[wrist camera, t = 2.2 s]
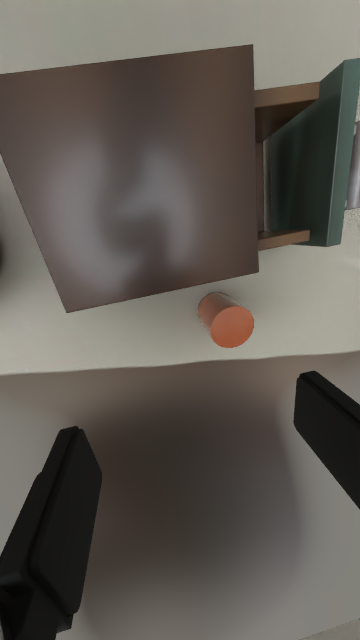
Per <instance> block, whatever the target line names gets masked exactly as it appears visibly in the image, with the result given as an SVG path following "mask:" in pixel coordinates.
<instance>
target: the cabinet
mask: <svg viewBox="0 0 360 640" xmlns="http://www.w3.org/2000/svg"><path fill="white" fill-rule="evenodd" d="M0 154H1V156H2V158H3V161H4V163H5V166H6V168H7V171H8V173H9V175H10V178H11V180H12V183H13V185H14V187H15V190H16V192H17V195H18V197H19V199H20V202H21V204H22V207H23V209H24V212H25V214H26V216H27V219H28V221H29V224H30V226H31V228H32V231H33V233H34V236H35V238H36V240H37V243H38V245H39V248H40V250H41V253H42V255H43V257H44V260H45V262H46V265H47V267H48V269H49V272H50V274H51V277H52V279H53V281H54V284H55V286H56V289H57V291H58V294H59V296H60V298H61V301H62V303H63V306H64V308H65V310H66V313H70V312H74V311H79V310H84V309H88V308H93V307H98V306H103V305H107V304H112V303H117V302H121V301H126V300H131V299H135V298H140V297H145V296H150V295H154V294H159V293H164V292H168V291H173V290H178V289H182V288H187V287H192V286H197V285H201V284H206V283H211V282H215V281H220V280H225V279H229V278H234V277H239V276H244V275H248V274H253V273H258V272H259V263H258V222H257V182H256V142H255V101H254V61H253V44H251V45H243V46H234V47H226V48H217V49H209V50H201V51H192V52H184V53H175V54H167V55H159V56H150V57H142V58H133V59H125V60H117V61H108V62H100V63H91V64H83V65H74V66H66V67H58V68H49V69H41V70H32V71H24V72H16V73H7V74H0Z"/></svg>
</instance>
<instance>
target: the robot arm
mask: <svg viewBox="0 0 360 640" xmlns="http://www.w3.org/2000/svg"><path fill="white" fill-rule="evenodd" d="M294 426H295V428H296V430H297V431H298V432H299V434H300V435H301V436H302V437H303V439H304V440H305V441H306V442H307V444H308V445H309V446H310V447H311V449H312V450H313V451H314V452H315V454H316V455H317V456H318V458H319V459H320V460H321V461H322V463H323V464H324V465H325V466H326V468H327V469H328V470H329V471H330V473H331V474H332V475H333V476H334V478H335V479H336V480H337V481H338V483H339V484H340V485H341V486H342V488H343V489H344V490H345V491H346V493H347V494H348V495H349V496H350V498H351V499H352V500H353V501H354V503H355V504H356V505H357V506H358V508H359V509H360V405H359V404H358V403H357V402H355V401H354V400H353V399H351V398H350V397H349V396H347V395H346V394H345V393H344V392H342V391H341V390H340V389H338V388H337V387H336V386H335V385H333V384H332V383H331V382H329V381H328V380H327V379H326V378H324V377H323V376H322V375H320V374H319V373H318V372H316V371H310V372H305V373H302V374H300V376H299V378H297V384H296V396H295V409H294ZM101 483H102V472H101V470H100V467H99V465H98V462H97V460H96V458H95V455H94V453H93V451H92V449H91V447H90V444H89V442H88V440H87V437H86V435H85V433H84V431H83V429H79V428H78V427H77V426H74V427H69V428H66V429H62V430H60V431H59V433H58V435H57V437H56V440H55V442H54V444H53V447H52V449H51V451H50V454H49V456H48V458H47V460H46V463H45V465H44V467H43V470H42V472H40V473H39V474H38V475H37V477H36V479H35V480H34V482H33V485H32V487H31V489H30V491H29V494H28V496H27V498H26V500H25V503H24V505H23V507H22V509H21V511H20V514H19V516H18V518H17V520H16V523H15V525H14V527H13V529H12V532H11V533H10V536H9V538H8V541H7V542H6V545H5V547H4V549H3V551H2V554H1V556H0V640H55V638H56V634H57V633H59V632H62V631H65V630H68V629H71V625H72V620H73V614H74V613H76V612H77V611H78V609H79V607H80V603H81V598H82V593H83V587H84V581H85V575H86V570H87V563H88V558H89V552H90V546H91V540H92V534H93V528H94V523H95V517H96V511H97V506H98V500H99V494H100V488H101ZM301 640H360V618H359V619H357V620H354V621H351V622H348V623H345V624H342V625H340V626H337V627H334V628H331V629H328V630H326V631H323V632H320V633H317V634H314V635H312V636H309V637H306V638H304V639H301Z"/></svg>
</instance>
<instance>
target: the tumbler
mask: <svg viewBox="0 0 360 640" xmlns="http://www.w3.org/2000/svg"><path fill="white" fill-rule="evenodd" d="M198 317H199V319H200V321H201V323H202V324H203V326H204V327H205V329H206V330H207V332H208V333H209V335H210V336H211V338H212V339H213V341H214V342H215V343H216V344H217V345H219V346H221V347H225V348H233V347H237V346H239V345H241V344H243V343H244V342H245V341H246V340H247V339H248V338H249V337H250V335H251V334H252V331H253V328H254V319H253V316H252V314H251V313H250V312H249V311H248V310H247V309H246V308H244V307H243V306H241V305H240V304H239V303H237V302H236V301H235V300H233V299H232V298H230V297H229V296H228V295H226V294H224V293H220V292H215V293H211V294H209V295H207V296H206V297H204V298H203V299H202V301H201V302H200V304H199V307H198Z"/></svg>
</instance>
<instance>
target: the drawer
mask: <svg viewBox="0 0 360 640" xmlns="http://www.w3.org/2000/svg"><path fill="white" fill-rule="evenodd" d="M359 87H360V58H357V59H349V60H344V61H343V62H342V63H341V64H340V65H339V66H337V67H336V68H335V69H334V70H333V71H332V72H330V73H329V74H328V75H327V76H326V77H325V78H324V79H322V80H321V81H320V82H314V83H306V84H299V85H292V86H285V87H277V88H270V89H263V90H256V91H254V101H255V142H256V182H257V222H258V251H260V250H265V249H270V248H275V247H280V246H285V245H290V244H291V245H306V246H321V247H329V246H333V245H338V244H340V243H341V235H342V227H343V219H344V211H345V210H350V209H356V208H360V121H357V122H355V120H356V112H357V103H358V95H359ZM270 136H271V231H264V178H263V141H264V140H266V139H267V138H268V137H270Z"/></svg>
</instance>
